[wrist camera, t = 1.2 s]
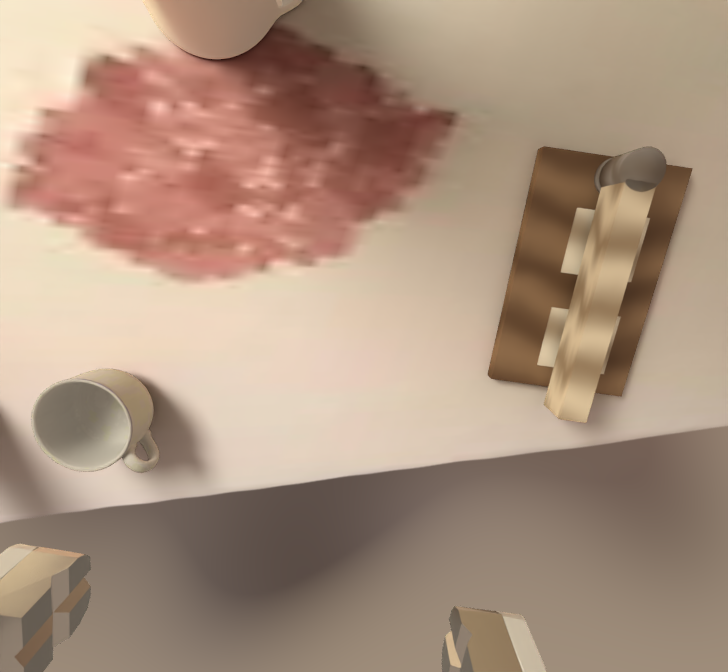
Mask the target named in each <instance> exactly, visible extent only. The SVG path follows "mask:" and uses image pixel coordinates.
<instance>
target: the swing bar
mask: <svg viewBox="0 0 728 672" xmlns="http://www.w3.org/2000/svg"><path fill="white" fill-rule="evenodd" d="M665 172H666V160H665V157H664V155H663V153H662V152H661V151H660V150H658V149H656V148H654V147H643V148H640V149H637V150H634V151H631V152H628V153H625V154H622V155H619V156H616V157H613V158H611V159H610V160H608V161H607V162H606V163H605V165H604V166H603V167H602V169H601V172H600V176H599V182H600V186H601V190H600V194H599V198H598V201H597V205H596V209H595V213H594V217H593V220H592V224H591V228H590V232H589V235H588V239H587V243H586V247H585V251H584V254H583V258H582V262H581V266H580V269H579V273H578V277H577V281H576V285H575V288H574V292H573V296H572V300H571V303H570V307H569V311H568V315H567V319H566V322H565V326H564V330H563V334H562V337H561V341H560V345H559V349H558V353H557V356H556V360H555V364H554V368H553V371H552V375H551V379H550V383H549V387H548V390H547V394H546V398H545V402H544V405H545V406H546V407H547V408H548V409H549V410H550V411H551V412H552V413H553V414H554V415H555V416H556V417H557V418H559V419H561V420H569V421H576V422H584V423H586V421H587V418H588V415H589V411H590V408H591V404H592V401H593V398H594V394H595V391H596V388H597V384H598V381H599V377H600V374H601V371H602V367H603V364H604V360H605V357H606V354H607V350H608V347H609V344H610V340H611V337H612V333H613V330H614V327H615V323H616V320H617V316H618V313H619V310H620V306H621V303H622V300H623V296H624V293H625V289H626V286H627V283H628V279H629V276H630V272H631V269H632V266H633V262H634V259H635V256H636V252H637V249H638V245H639V242H640V239H641V235H642V232H643V228H644V225H645V222H646V218H647V215H648V212H649V208H650V205H651V201H652V198H653V195H654V191H655V188H656V186H657V185H658V184H659V183H660V182H661V181H662V179H663V177H664V175H665Z"/></svg>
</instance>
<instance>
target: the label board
mask: <svg viewBox="0 0 728 672" xmlns="http://www.w3.org/2000/svg"><path fill="white" fill-rule="evenodd" d="M611 158H613V157H611V156H605V155H598V154H591V153H585V152H578V151H571V150H564V149H558V148H551V147H542V148H540V149H538V152H537V157H536V161H535V166H534V170H533V175H532V179H531V183H530V188H529V192H528V197H527V201H526V206H525V210H524V215H523V219H522V224H521V228H520V232H519V237H518V241H517V246H516V250H515V255H514V259H513V264H512V268H511V273H510V277H509V282H508V286H507V290H506V295H505V299H504V304H503V308H502V313H501V317H500V322H499V326H498V331H497V335H496V339H495V344H494V348H493V353H492V357H491V362H490V366H489V371H488V376H489V377H490V378H491V379H498V380H505V381H512V382H519V383H527V384H534V385H541V386H549V383H550V379H551V375H552V371H553V368H554V364H555V360H556V356H557V353H558V349H559V345H560V341H561V337H562V334H563V330H564V326H565V322H566V319H567V315H568V311H569V307H570V303H571V300H572V296H573V292H574V288H575V285H576V281H577V277H578V273H579V269H580V266H581V262H582V258H583V254H584V251H585V247H586V243H587V239H588V235H589V232H590V228H591V224H592V220H593V217H594V213H595V209H596V205H597V201H598V198H599V194H600V190H601V186H600V182H599V176H600V172H601V169H602V167H603V166H604V165H605V163H606V162H607V161H608V160H610V159H611ZM691 172H692V168H685V167H679V166H672V165H666V172H665V175H664V177H663V179H662V181H661V182H660V183H659V184H658V185H657V186H656V188H655V191H654V195H653V198H652V201H651V205H650V208H649V212H648V215H647V218H646V222H645V225H644V228H643V232H642V235H641V239H640V242H639V245H638V249H637V252H636V256H635V259H634V262H633V266H632V269H631V272H630V276H629V279H628V283H627V286H626V289H625V293H624V296H623V300H622V303H621V306H620V310H619V313H618V316H617V320H616V323H615V327H614V330H613V333H612V337H611V340H610V344H609V347H608V350H607V354H606V357H605V360H604V364H603V367H602V371H601V374H600V377H599V381H598V384H597V388H596V391H595V393H600V394H607V395H615V396H622V392H623V389H624V386H625V383H626V380H627V376H628V373H629V370H630V367H631V364H632V360H633V357H634V354H635V351H636V348H637V344H638V341H639V338H640V335H641V332H642V328H643V325H644V322H645V319H646V316H647V312H648V309H649V306H650V303H651V300H652V296H653V293H654V290H655V287H656V284H657V280H658V277H659V274H660V271H661V268H662V265H663V261H664V258H665V255H666V252H667V249H668V245H669V242H670V239H671V236H672V233H673V229H674V226H675V223H676V220H677V217H678V213H679V210H680V207H681V204H682V201H683V197H684V194H685V191H686V188H687V185H688V181H689V178H690V175H691Z"/></svg>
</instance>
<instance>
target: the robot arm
mask: <svg viewBox="0 0 728 672" xmlns="http://www.w3.org/2000/svg"><path fill="white" fill-rule="evenodd" d="M142 1H143V3H144V4H145V6H146V8H147V10H148V12H149V13H150V15H151V17H152V19H153V20H154V22H155V23H156V25H157V26H158V28H159V29H160V30H161V31H162V32H163V34H164V35H165V36H166V37H167V38H168V39H169V40H170V41H172V42H173V43H174V44H175V45H177V46H178V47H179V48H181V49H183V50H184V51H186V52H188V53H191V54H193V55H196V56H199V57H202V58H208V59H225V58H231V57H234V56H237V55H240V54H242V53H244V52H246V51H248V50H249V49H251V48H252V47H254V46H255V45H256V44H257V43H258V42H259V41H260V40H261V39H262V38H263V37H264V36H265V35H266V34H267V32H268V31H269V30H270V28H271V27H272V25H273V24H274V22H275V21H276V20H277V19H278V18H279V17H280V16H281V15H283V14H285V13H287V12H288V11H290V10H292V9H293V8H295V7H296V6H298V5H299V4H300V3H301V2H302V1H303V0H142ZM90 569H91V565H90V557H89V556H88V555H85V554H80V553H74V552H69V551H63V550H57V549H51V548H45V547H36V546H30V545H24V544H16V545H13V546H11V547H9V548H8V549H7V550H5V551H4V552H3V553H1V554H0V672H43V671H44V670H45V669H46V668H47V666H48V665H49V664H50V662H51V661H52V660H53V647H55V646H57V645H58V644H60V643H61V642H63V641H65V640H66V639H68V638H70V636H71V635H72V634H73V632H74V631H75V629H76V628H77V626H78V625H79V624H80V622H81V620H82V618H83V616H84V614H85V612H86V610H87V608H88V604H89V599H90V594H91V593H90V590H91V587H90V585H89V584H88V582H87V581H86V579H85V578H84V576H85V575H86V574H87V573H88V572H89V571H90ZM449 621H450V626H451V631H450V632H449V633H448V634H447V635H445V639H444V643H443V649H442V672H547V670H546V668H545V665H544V663H543V661H542V659H541V657H540V654H539V651H538V649H537V647H536V644H535V642H534V640H533V637H532V635H531V632H530V630H529V628H528V625H527V623H526V621H525V619H524V618H523V617H522V615H521V614H514V613H506V612H496V611H491V610H483V609H475V608H467V607H459V606H454V607H453V609H452V611H451V614H450V618H449Z"/></svg>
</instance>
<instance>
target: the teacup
mask: <svg viewBox="0 0 728 672" xmlns="http://www.w3.org/2000/svg"><path fill="white" fill-rule="evenodd" d="M153 413H154V408H153V402H152V398H151V396H150V394H149V392H148V390H147V389H146V387H145V386H144V385H143V384H142V383H141V382H140V381H139V380H138V379H137V378H135V377H134V376H132V375H130V374H128V373H126V372H123V371H120V370H116V369H98V370H93V371H89V372H86V373H83V374H80V375H78V376H75V377H73V378H70V379H67V380H63V381H60V382H57V383H55V384H53V385H51V386H50V387H48V388H47V389H46V390H44V391H43V392H42V393H41V394H40V396H39V397H38V398H37V400H36V402H35V404H34V407H33V410H32V414H31V424H32V430H33V433H34V437H35V439H36V441H37V443H38V445H39V446H40V448H41V449H42V450H43V452H44V453H45V454H46V455H47V456H48V457H49V458H51V459H52V460H53V461H55V462H56V463H57V464H60V465H62V466H64V467H65V468H69V469H71V470H75V471H83V472H92V471H98V470H102V469H104V468H107V467H109V466H111V465H112V464H114V463H115V462H117V461H118V460H119V459H120V458H121V457H122V458H123V461H124V463H125V464H126V466H127V467H128V468H129V469H131V470H132V471H135V472H139V473H143V472H147V471H149V470H151V469H152V468H154V466H155V465H156V464H157V462H158V460H159V450H158V447H157V445H156V443H155V441H154V440H153V438H152V433H151V431H150V430H149V427H150V425H151V423H152V419H153ZM138 442H140V443H141V444H142V446H143V447H144V449H145V451H146V453H147V456H148V461H143V460H141V459H139V458H138V457H137V456H136V454H135V449H136V447H137V443H138Z"/></svg>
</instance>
